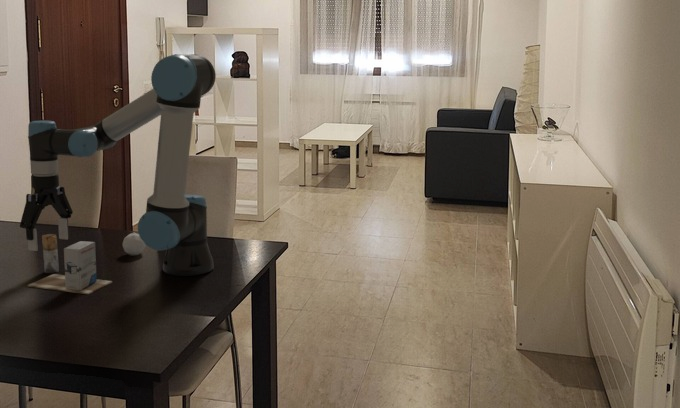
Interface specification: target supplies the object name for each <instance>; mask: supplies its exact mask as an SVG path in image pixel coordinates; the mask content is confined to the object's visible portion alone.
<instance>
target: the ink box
mask: <svg viewBox="0 0 680 408" xmlns="http://www.w3.org/2000/svg"><path fill="white" fill-rule="evenodd" d="M63 258H64V259H63V260H64V275H65V286H66V288H67V289H74V290H82V289H83V288H85V287H87V286H89V285H90V284H92V283H94V282H96V281H97V260H96V259H97V257H96V242H95V241H85V240H83V241H82V240H80V241H78V242H75V243H73V244H70V245H68V246H67V247H64V248H63Z"/></svg>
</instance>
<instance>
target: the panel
mask: <svg viewBox="0 0 680 408" xmlns="http://www.w3.org/2000/svg"><path fill="white" fill-rule="evenodd" d="M112 283H113V281H112V280H106V279H97V281H96V282H94V283H92V284H90V285H89V286H87V287H85V288H83V289H82V290H74V289H67V288H66V286H65V274H58V273H51V274H50V275H48V276H45V277H43V278H41V279H39V280H36V281H34V282H32V283H31V282H30V283H29V284H27V288H28V287H30V288H38V289H45V290H50V291H51V290H52V291H59V292H66V293H67V292H68V293H75V294H82V295H90V294H92V293H94V292H96V291H98V290H100V289H103V288H104V287H106V286H108V285H110V284H112Z"/></svg>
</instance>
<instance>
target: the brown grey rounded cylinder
mask: <svg viewBox="0 0 680 408" xmlns="http://www.w3.org/2000/svg"><path fill="white" fill-rule="evenodd" d="M41 240H42V241H41V242H42V253H43V254H42V255H43V268H44V273H45V274H57V273H58V272H59V271H60V267H59V254H58V253H59V250H58V237H57V234H55V233H54V234H53V233H47V234H43V235H41Z"/></svg>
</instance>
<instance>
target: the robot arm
mask: <svg viewBox="0 0 680 408" xmlns="http://www.w3.org/2000/svg"><path fill="white" fill-rule="evenodd" d="M214 67H215V66H214V65H213V64H212V62H211V61H210V60H209V59H207V58H206V57H205V56H203V55H200V54H178V53H177V54H171V55H168V56H167V55H166V56H165V57H163V58H161V59H160V60H159V61H157V63H156V64H155V65H154V67H153V68H152V72H151V78H150V79H151V80H150V81H151V86H152V88H151V89H150V90H148V91H147V92H145V93H144V94H143V95H141V96H139V97H138V98H136V99H134V100H133V101H130V103H127V104H126V105H124V106H122V107H121V108H120V109H118V110H116V111H114V112H113V113H111V114H110V115H108V116H106V117H105V118H103V119H101V120H100V121H99V122H97V123H95V124H94V125H91V126H86V127H82V128H81V127H80V128H75V129H65V128H64V129H63V128H58V127H57V124H56V122H55V121H54V120H33V121H30V122H29V123H28V125H27V126H28V130H27V131H28V133H27V134H28V135H27V138H28V147H29V160H30V162H29V163H30V164H29V165H30V173H31V174H32V175H31V176H30V181H31V188H33V189H34V193H33V194H32V193H27V194H26V196H25V197H26V198H25V204H24V209H23V212H22V216H21V220H20V224H19V228H20V229H25V235H26V240H27V251H32V252H33V251H34V252H37V251H39V249H38V248H39V247H38V232H37V228H35V227H36V224H37V222H38V221H39V219H40V216H41V213H42V211H43V210H44V209H45V208H46V207H49V206H51V207H52V208H53V209H54V211H55V212H56V213H57V214H58V216H59V217H58V218H57V223H58V239H59V240H69V219H70V218H72V214H74V213H73V210H72V207H71V204H70V202H69V200H68V198H67V195H66V191H65V187H64V186H60V179H59V178H60V176H59V174H58V173H59V159H58V156H65V157H67V156H68V157H77V158H90V157H92V156H94V154H95V153H96V152H99V151H105V150H108V149H110V148H112V147H114V146H115V145H116V144H117V142H118V141H120V140H121V139H123V138H125V137H126V136H128V135H129V134H131V133H133V132H134V131H136V130H138V129H139V128H141V127H143V126H145V125H147V124H148V123H150V122H151V121H153V120H155V119H156V118H158V117H160V121H159V132H158V142H157V152H156V163H155V173H154V182H153V183H154V185H153V192H152V194H151V195H150V196H149V197H147V199H146V208H145V213H143V215H141V216H140V218H139V220H138V223H137V232H138V234H139V236H140V238H141V240H143V242H144V243H145V244H146V246H147V247H148V248H150V249H152V250H155V251H158V252H159V251H166V252H165V255H164V259H163V261H162V270H163V272H164V273H165V274H168V275H171V276H178V277H187V276H188V277H191V276H192V277H193V276H199V275H203V274H207V273H209V272H211V271H213V270H214V268H215V266H214V259H213V256H212V254H211V251H210V248H209V245H208V227H207V226H208V221H207V219H208V217H207V215H208V214H207V209H208V207H207V201H206V197H204V196H203V195H200V194H188V193H187V194H186V187H187V186H186V185H187V177H188V168H189V161H190V159H189V158H190V157H189V156H190V149H191V139H192V129H193V122H194V113H195V112H197V111H198V110H199V109H200V107H201V99H202V96H204V95H207V93H209V92H210V91H211V90H212V89H213V87H214V85H215V83H216V71H215V68H214ZM212 269H213V270H212Z"/></svg>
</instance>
